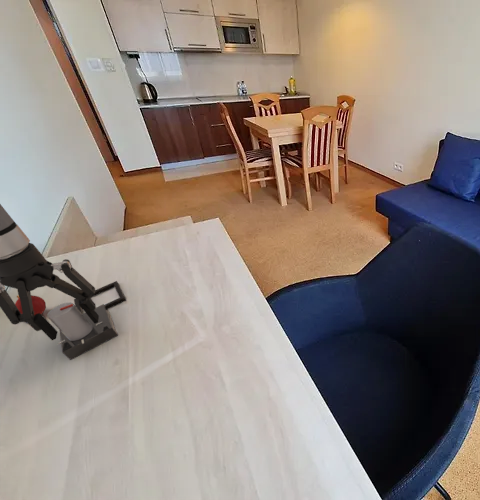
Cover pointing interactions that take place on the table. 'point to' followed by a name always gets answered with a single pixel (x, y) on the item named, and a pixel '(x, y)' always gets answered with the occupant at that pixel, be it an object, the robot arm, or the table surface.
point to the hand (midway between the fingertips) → (76, 327)
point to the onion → (37, 303)
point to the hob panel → (90, 334)
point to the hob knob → (70, 321)
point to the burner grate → (103, 289)
